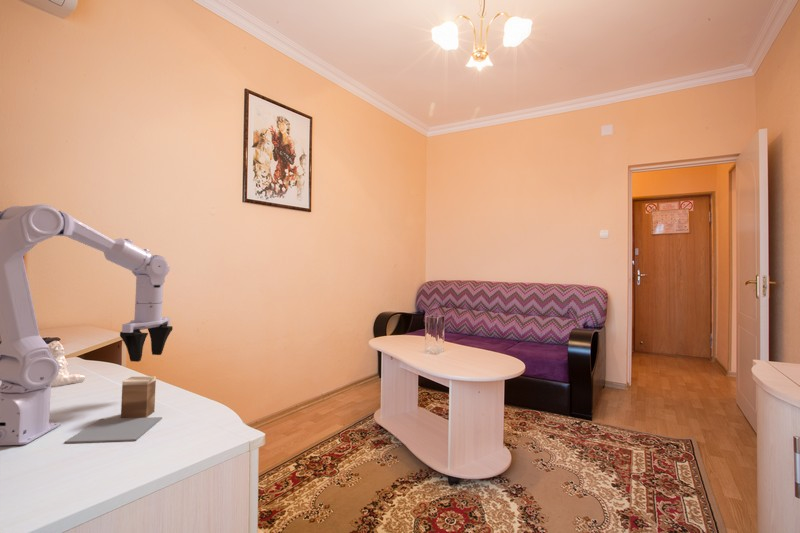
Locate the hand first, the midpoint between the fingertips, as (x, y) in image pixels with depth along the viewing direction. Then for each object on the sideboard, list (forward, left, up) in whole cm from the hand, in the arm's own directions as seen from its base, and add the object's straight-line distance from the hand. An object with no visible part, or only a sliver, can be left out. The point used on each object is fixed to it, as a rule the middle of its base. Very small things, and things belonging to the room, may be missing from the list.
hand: (146, 357), depth 97 cm
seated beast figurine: (+15, +29, -11) cm, 34 cm away
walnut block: (-11, -3, -10) cm, 15 cm away
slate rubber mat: (-19, -3, -10) cm, 22 cm away
